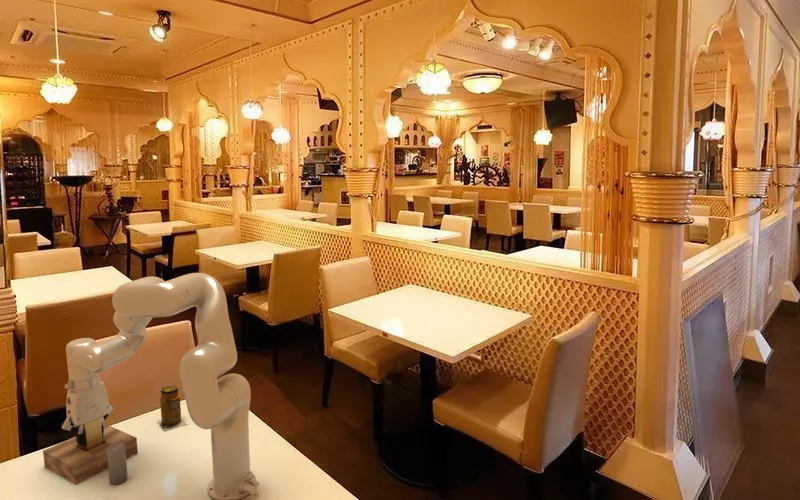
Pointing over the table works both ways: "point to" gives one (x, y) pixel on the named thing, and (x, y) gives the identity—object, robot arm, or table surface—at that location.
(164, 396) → the condiment
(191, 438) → the table surface
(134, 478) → the table surface
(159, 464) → the table surface
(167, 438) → the table surface
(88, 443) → the square peg
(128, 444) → the socket block
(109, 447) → the round peg
